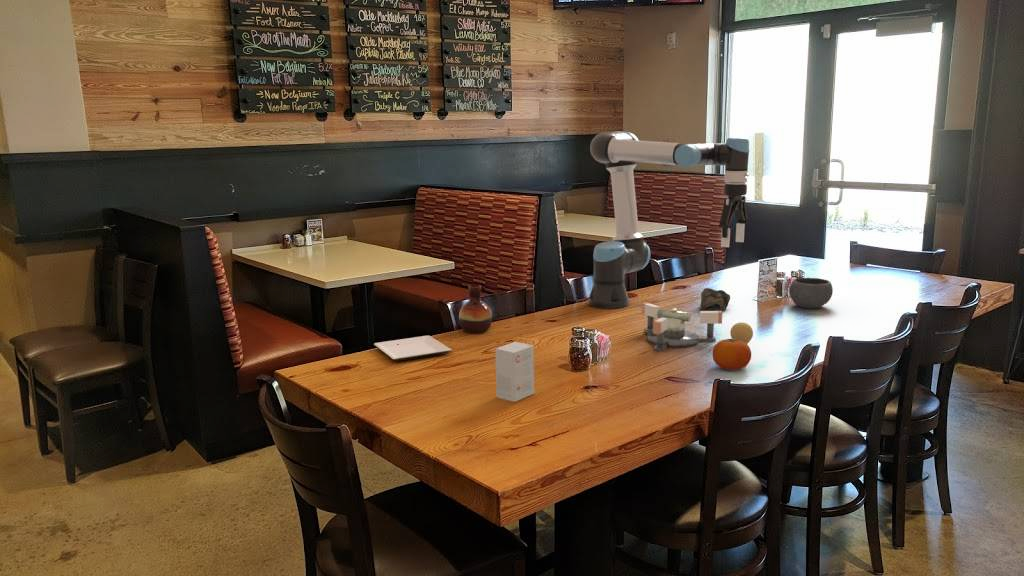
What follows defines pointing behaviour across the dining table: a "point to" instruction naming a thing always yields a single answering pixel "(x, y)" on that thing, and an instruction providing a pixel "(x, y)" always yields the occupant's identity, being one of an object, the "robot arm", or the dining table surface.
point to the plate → (412, 348)
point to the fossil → (714, 298)
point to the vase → (475, 312)
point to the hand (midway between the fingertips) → (732, 244)
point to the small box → (514, 371)
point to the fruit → (731, 354)
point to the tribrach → (676, 331)
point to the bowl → (810, 292)
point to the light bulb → (742, 332)
